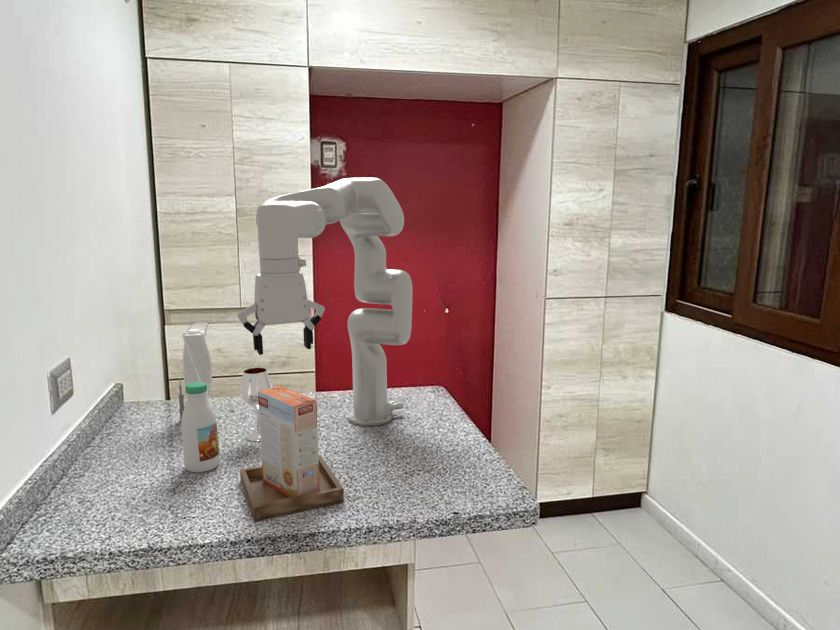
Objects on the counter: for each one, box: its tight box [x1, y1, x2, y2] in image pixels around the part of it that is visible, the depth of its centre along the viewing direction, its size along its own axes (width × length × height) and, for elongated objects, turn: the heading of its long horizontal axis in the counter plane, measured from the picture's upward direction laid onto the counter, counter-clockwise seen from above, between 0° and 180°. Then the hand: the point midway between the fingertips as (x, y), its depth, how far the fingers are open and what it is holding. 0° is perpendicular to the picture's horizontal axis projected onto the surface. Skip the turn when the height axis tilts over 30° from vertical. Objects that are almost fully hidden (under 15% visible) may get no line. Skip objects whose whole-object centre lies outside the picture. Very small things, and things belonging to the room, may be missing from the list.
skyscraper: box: [178, 321, 213, 423], centre depth 164 cm, size 8×8×28 cm
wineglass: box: [239, 367, 273, 442], centre depth 153 cm, size 8×8×18 cm
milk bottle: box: [180, 382, 221, 473], centre depth 136 cm, size 8×8×20 cm
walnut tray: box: [239, 454, 345, 523], centre depth 126 cm, size 18×18×3 cm
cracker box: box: [258, 385, 320, 498], centre depth 124 cm, size 14×6×21 cm, turn 44°
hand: (284, 350), depth 120 cm, fingers open, 9 cm apart
